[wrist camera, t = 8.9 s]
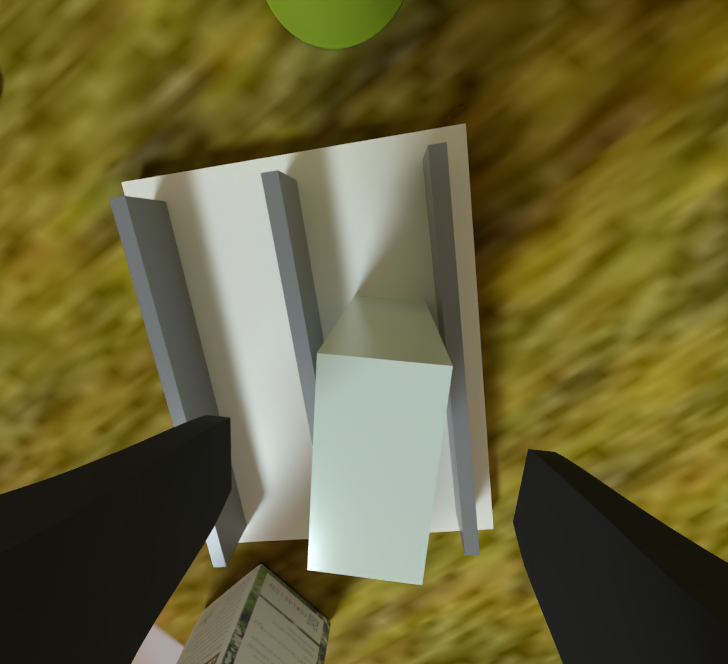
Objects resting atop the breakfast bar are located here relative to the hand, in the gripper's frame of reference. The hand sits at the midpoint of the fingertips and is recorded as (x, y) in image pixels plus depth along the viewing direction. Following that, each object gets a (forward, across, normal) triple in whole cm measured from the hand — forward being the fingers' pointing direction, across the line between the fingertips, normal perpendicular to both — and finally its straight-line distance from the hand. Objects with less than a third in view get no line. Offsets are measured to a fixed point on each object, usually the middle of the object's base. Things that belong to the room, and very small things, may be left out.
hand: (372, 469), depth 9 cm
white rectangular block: (+8, 0, 0) cm, 8 cm away
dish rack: (+9, +3, +1) cm, 9 cm away
